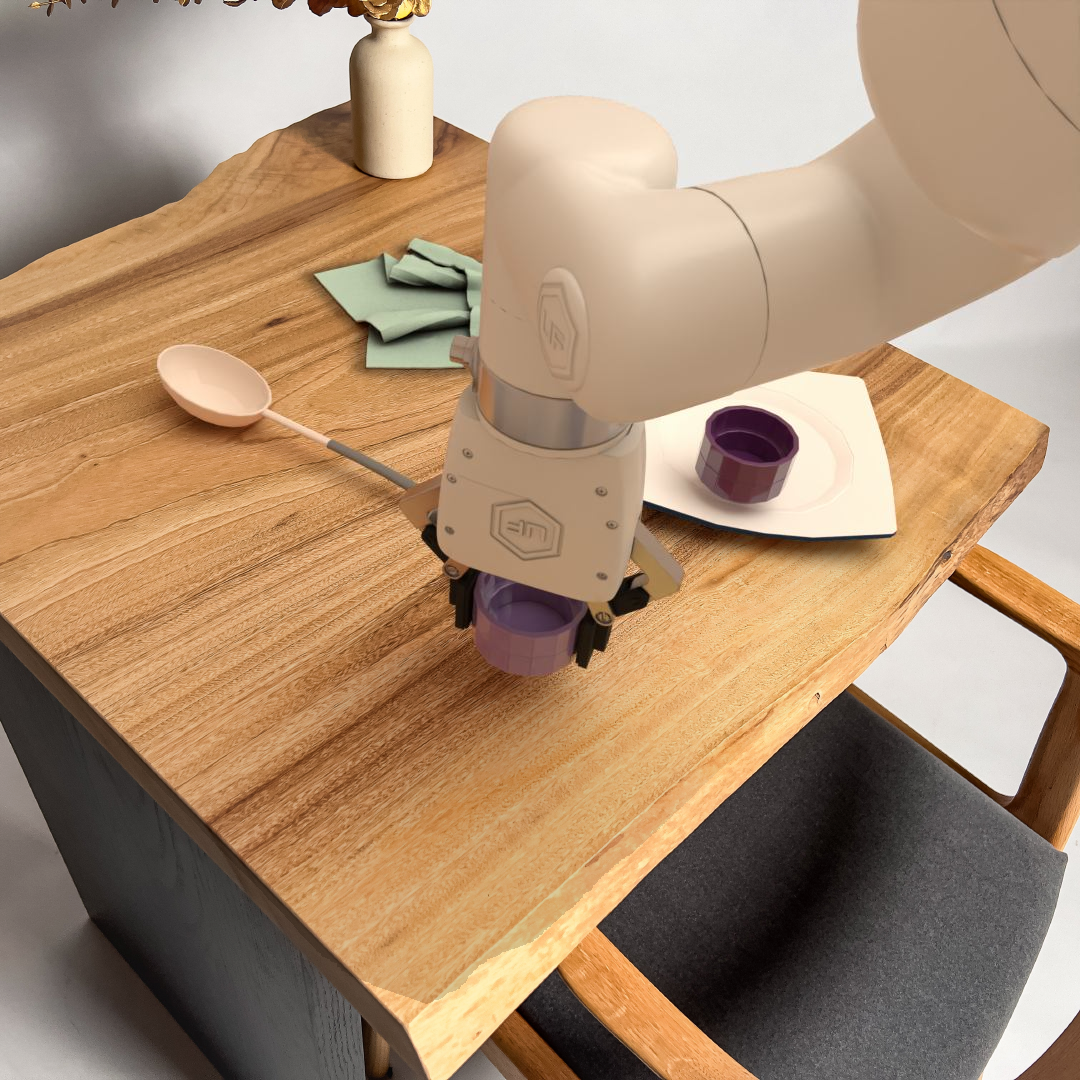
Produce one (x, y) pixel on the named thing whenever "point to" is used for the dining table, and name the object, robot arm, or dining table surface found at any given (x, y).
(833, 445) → the plate
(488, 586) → the lavender bowl
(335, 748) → the dining table surface
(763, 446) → the plum bowl
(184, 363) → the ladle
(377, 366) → the cloth
